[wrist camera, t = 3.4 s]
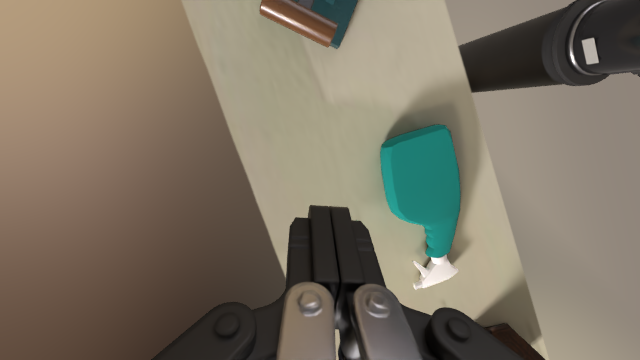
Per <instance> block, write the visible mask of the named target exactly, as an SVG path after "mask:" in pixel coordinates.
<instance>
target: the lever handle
mask: <svg viewBox="0 0 640 360" xmlns="http://www.w3.org/2000/svg"><path fill="white" fill-rule="evenodd" d="M314 1H315V0H298V1H297V2H296V1H294V0H262V2H261V6H260V14H261V15H262V16H264V17H266V18H268V19H270V20H272V21H274V22H277V23H279V24H281V25H283V26H285V27H287V28H289V29H291V30H293V31H295V32H297V33H299V34H301V35H303V36H305V37H307V38H309V39H311V40H313V41H315V42H317V43H319V44H321V45H323V46H325V47H329V46H330V44H331V42H332V39H333V37H334V35H335V32H336V29H337V26H338V23H336V22H334V21H332V20H330V19H329V18H327V17H325V16H323V15H321V14H319V13H317V12H315V11H313V10H311V9H312V6H313V4H314Z"/></svg>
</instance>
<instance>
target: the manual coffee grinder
mask: <svg viewBox="0 0 640 360" xmlns="http://www.w3.org/2000/svg"><path fill="white" fill-rule="evenodd" d="M484 329H485V330H486V331H488V332H489V333H490V334H492V335H493V336H494V337H496V338H497V339H498V340H499V341H501V342H502V343H503V344H505V345H506V346H507V347H509V348H510V349H511V350H513V351H514V352H515V353H516V354H518V355H519V356H520V357H522V358H523V359H524V360H545V359H544V358H543V357H542V356H541V355H540V354H539V353H538V352H537V351H536V350H535V349H534V348H532V347H531V346H530V345H529V344H528V343H527V342H526V341H525V340H524V339H523V338H522V337H521V336H519V335H518V334H517V333H516V332H515V331H514V330H513V329H512V328H511V327H510V326H509V325H508V324H507V323H506V324H502V325H497V326H493V327H488V328H484Z"/></svg>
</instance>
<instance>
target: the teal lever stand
mask: <svg viewBox="0 0 640 360" xmlns="http://www.w3.org/2000/svg"><path fill="white" fill-rule="evenodd" d="M294 1H296V2H297V1H298V0H294ZM357 1H358V0H315V1H314V4H313V6H312V9H311V10H313V11H315V12H317V13H319V14H321V15H323V16H325V17H327V18H329V19H330V20H332V21H334V22H336V23H338V26H337V29H336V32H335V35H334V37H333V39H332V42H331V44H330V46H332V47H334V48H336V49H338V48H339V46H340V44H341V41H342V39H343V36H344V34H345V31H346V29H347V26H348V24H349V21H350V18H351V16H352V13H353V11H354V8H355V6H356V3H357Z"/></svg>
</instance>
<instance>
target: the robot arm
mask: <svg viewBox="0 0 640 360" xmlns="http://www.w3.org/2000/svg"><path fill="white" fill-rule="evenodd" d="M565 55H566V59H567V62H568V64H569V66H570V67H571V69H572V70H573V71H575V72H576V73H578V74H580V75H583V76H593V75H600V74H602V75H610V74H619V73H628V72H631V73H633V74H638V76H639V77H640V0H604V1H601V2H598V3H595V4H592V5H590V6H588V7H586V8H585V9H583V10H582V11H581V12H580V13H579V14H578V15H577V16H576V18H575V19H574V20H573V22H572V24H571V26H570V28H569V30H568V33H567V36H566V41H565ZM335 329H339V333H340V345H339V348H338V357H339V360H524V359H523V358H522V357H520V356H519V355H518V354H516V353H515V352H514V351H513V350H511V349H510V348H509V347H507V346H506V345H505V344H503V343H502V342H501V341H499V340H498V339H497V338H496V337H494V336H493V335H492V334H490V333H489V332H488V331H486V330H485V329H484V328H483V327H481V326H480V325H479V324H477V323H476V322H475V321H473V320H472V319H471V318H470V317H468V316H467V315H465V314H464V313H462V312H460V311H458V310H456V309H452V308H439V309H437V310H436V311H435V312H434V313H433V315H429V314H426V313H423V312H420V311H416V310H413V309H411V308H408V307H406V306H404V305H402V304H401V303H399V301H398V299H397V297H396V296H395V295H394V294H393V293H392V292H391V291H390V290H388V289H387V288H386V285H385V282H384V279H383V276H382V273H381V269H380V266H379V263H378V260H377V256H376V253H375V252H374V247H373V243H372V240H371V237H370V234H369V230H368V229H367V228H366V227H365V226H364V225H363V223H362V222H361V221H351V217H350V212H349V209H348V207H333V206H329V207H328V206H316V205H310V206H309V213H308V218H297V217H296V218H295V219H294V221H293V222H292V224H291V225H290V231H289V243H288V255H287V274H286V289H285V291H284V293H283V294H282V296H281V297H280V298H279V299H278V300H276V301H275V302H273V303H272V304H269V305H267V306H264V307H260V308H257V309H254V310H251V309H250V308H249V307H248V306H246V305H244V304H242V303H238V302H228V303H223V304H221V305H218V306H216V307H214V308H213V309H212V310H210V311H209V312H208V313H206V314H205V315H204V316H203V317H202V318H201V319H200V320H198V321H197V322H196V323H195V324H194V325H192V326H191V327H190V328H189V329H187V330H186V331H185V332H184V333H183V334H181V335H180V336H179V337H178V338H177V339H175V340H174V341H173V342H172V343H171V344H169V345H168V346H167V347H166V348H165V349H163V350H162V351H161V352H160V353H159V354H157V355H156V356H155V357H154V358H153V359H151V360H336V348H335Z"/></svg>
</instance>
